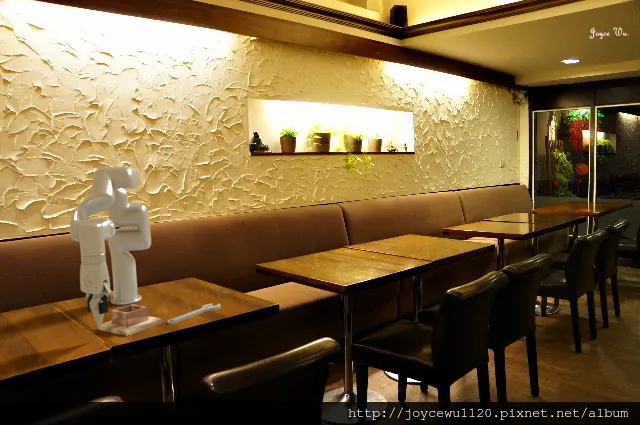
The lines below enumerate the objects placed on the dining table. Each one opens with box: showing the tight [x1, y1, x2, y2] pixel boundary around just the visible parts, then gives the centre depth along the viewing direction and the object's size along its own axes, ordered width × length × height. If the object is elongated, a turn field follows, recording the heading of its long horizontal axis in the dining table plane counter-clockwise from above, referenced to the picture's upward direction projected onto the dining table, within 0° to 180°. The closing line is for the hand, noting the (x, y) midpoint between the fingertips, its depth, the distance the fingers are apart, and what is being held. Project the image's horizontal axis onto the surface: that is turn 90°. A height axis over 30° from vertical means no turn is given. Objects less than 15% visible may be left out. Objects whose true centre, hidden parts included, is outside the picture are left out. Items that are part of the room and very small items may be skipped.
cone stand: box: [97, 303, 164, 337], centre depth 187 cm, size 16×16×6 cm
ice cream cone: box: [89, 294, 105, 331], centre depth 173 cm, size 5×5×15 cm
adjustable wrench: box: [167, 303, 221, 325], centre depth 200 cm, size 25×6×2 cm, turn 141°
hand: (98, 311), depth 173 cm, fingers closed on ice cream cone, 5 cm apart
